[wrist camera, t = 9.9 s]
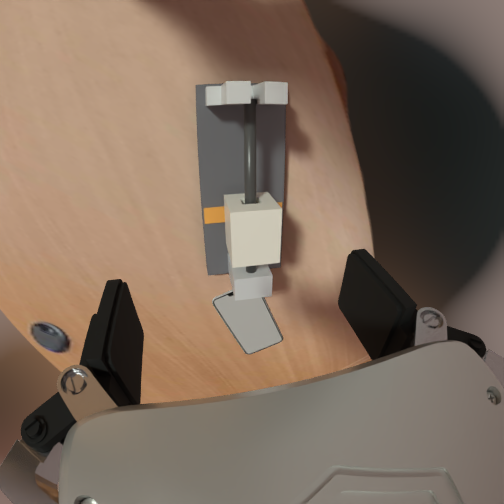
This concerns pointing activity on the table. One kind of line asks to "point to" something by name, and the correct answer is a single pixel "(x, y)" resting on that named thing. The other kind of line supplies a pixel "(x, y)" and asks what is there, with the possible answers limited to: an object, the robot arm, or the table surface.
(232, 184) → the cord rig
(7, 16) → the table surface
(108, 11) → the table surface
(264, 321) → the smartphone
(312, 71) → the table surface
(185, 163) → the table surface
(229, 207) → the notched cream block
